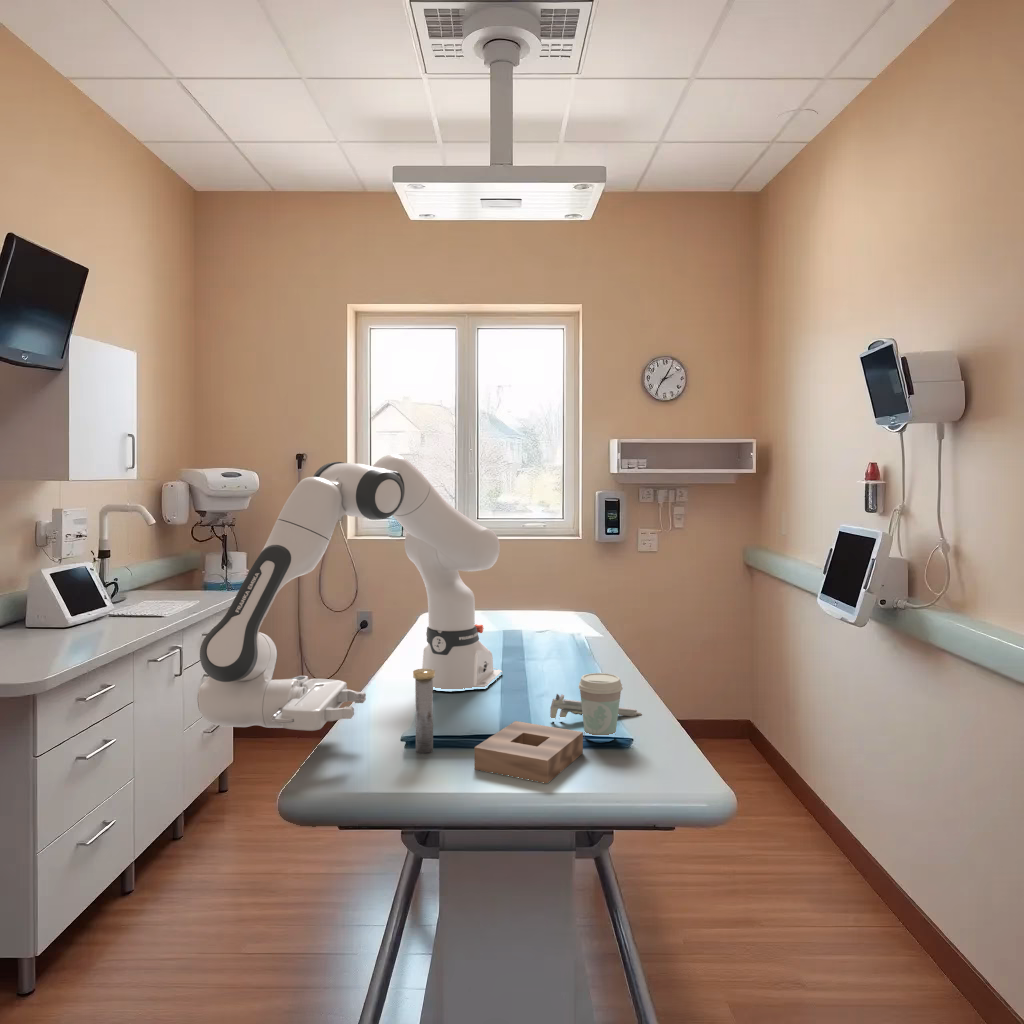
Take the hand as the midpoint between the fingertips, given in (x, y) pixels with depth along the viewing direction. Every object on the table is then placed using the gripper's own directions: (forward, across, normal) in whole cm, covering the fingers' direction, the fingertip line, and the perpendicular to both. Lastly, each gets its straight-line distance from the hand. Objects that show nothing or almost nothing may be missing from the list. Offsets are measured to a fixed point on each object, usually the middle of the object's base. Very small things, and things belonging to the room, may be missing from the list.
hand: (359, 705), depth 153 cm
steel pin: (+12, 0, +8) cm, 15 cm away
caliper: (+46, +20, +9) cm, 51 cm away
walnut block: (+32, -4, +8) cm, 33 cm away
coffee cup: (+45, +8, +8) cm, 47 cm away
